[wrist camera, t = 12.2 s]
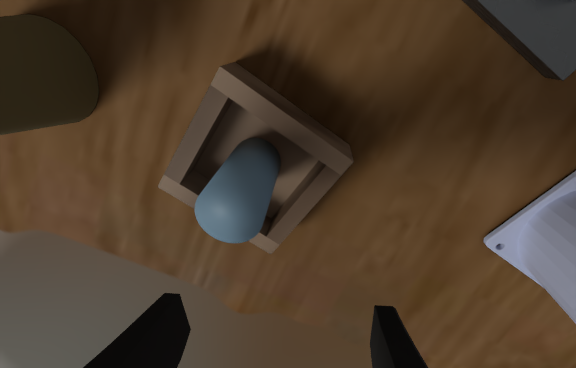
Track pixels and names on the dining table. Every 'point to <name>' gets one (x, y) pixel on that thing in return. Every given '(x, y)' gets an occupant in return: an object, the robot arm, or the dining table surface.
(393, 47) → the dining table surface
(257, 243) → the stylus holder
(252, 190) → the blue rounded cylinder
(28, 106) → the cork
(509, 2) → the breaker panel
